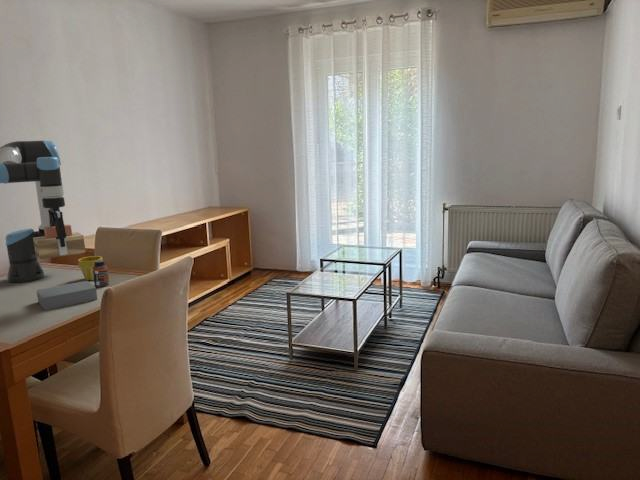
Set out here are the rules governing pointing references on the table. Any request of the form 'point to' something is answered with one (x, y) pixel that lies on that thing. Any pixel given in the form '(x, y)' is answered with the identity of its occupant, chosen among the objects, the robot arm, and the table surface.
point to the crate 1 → (50, 232)
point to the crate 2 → (68, 230)
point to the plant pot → (88, 266)
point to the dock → (66, 295)
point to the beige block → (51, 249)
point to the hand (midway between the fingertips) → (60, 252)
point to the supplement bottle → (100, 274)
